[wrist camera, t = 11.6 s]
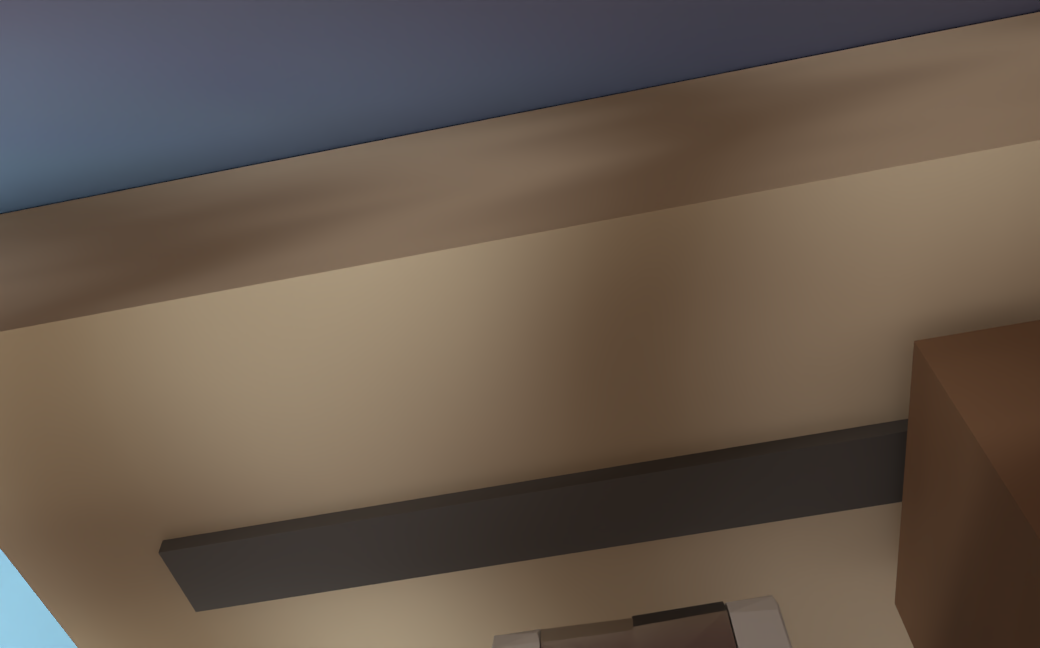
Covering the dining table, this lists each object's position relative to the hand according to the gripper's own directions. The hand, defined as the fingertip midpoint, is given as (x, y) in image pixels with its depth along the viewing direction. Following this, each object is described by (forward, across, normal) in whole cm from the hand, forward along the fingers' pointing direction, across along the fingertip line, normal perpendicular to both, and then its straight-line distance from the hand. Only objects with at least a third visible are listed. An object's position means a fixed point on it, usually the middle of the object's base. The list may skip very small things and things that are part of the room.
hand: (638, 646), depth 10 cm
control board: (+5, 0, -6) cm, 8 cm away
